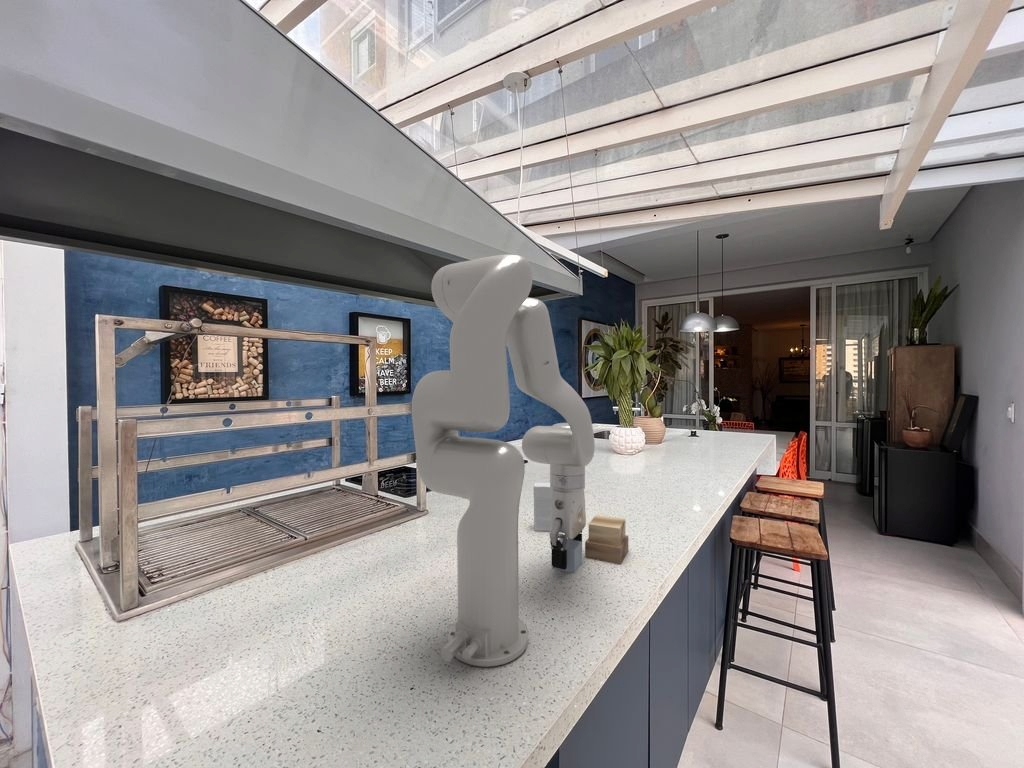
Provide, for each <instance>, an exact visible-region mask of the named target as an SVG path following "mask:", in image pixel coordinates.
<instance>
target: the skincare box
mask: <svg viewBox="0 0 1024 768" xmlns="http://www.w3.org/2000/svg"><path fill="white" fill-rule="evenodd" d="M552 490H553V489H551V488H550V482H534V484H533V524H534V525H533V529H534V531H535V532H551V500H552Z"/></svg>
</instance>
